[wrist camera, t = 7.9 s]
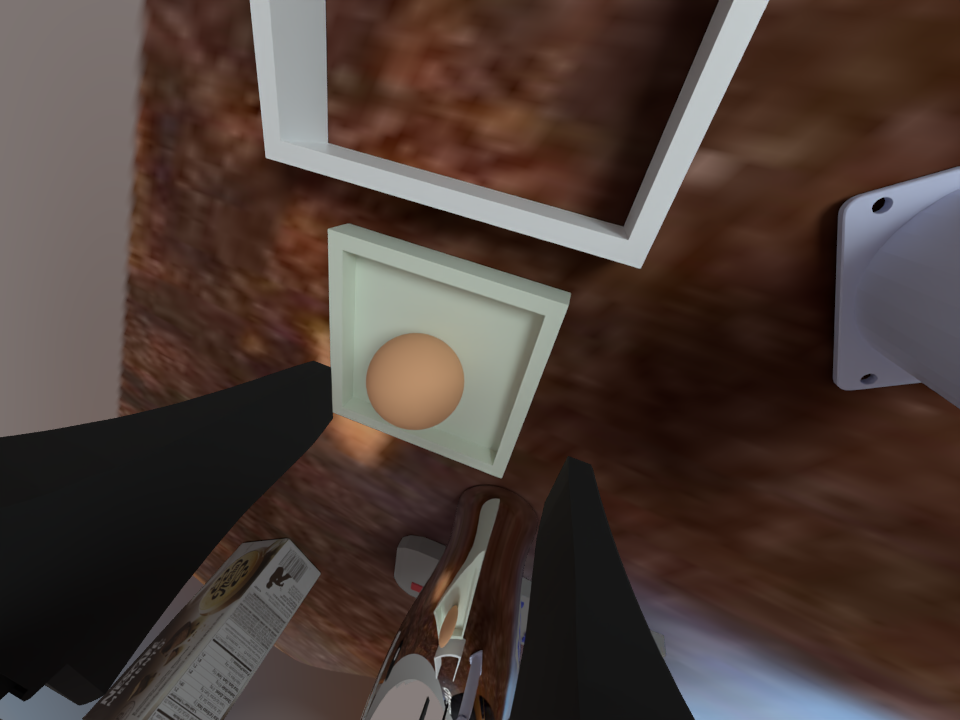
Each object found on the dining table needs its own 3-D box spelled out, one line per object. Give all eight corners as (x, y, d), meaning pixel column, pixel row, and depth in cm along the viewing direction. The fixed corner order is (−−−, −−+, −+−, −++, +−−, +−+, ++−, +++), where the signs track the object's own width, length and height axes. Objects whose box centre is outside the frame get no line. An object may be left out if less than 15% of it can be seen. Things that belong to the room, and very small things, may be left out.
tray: (348, 223, 18) (327, 228, 17) (571, 293, 17) (568, 305, 16) (346, 397, 25) (331, 411, 24) (507, 459, 23) (501, 478, 22)
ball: (454, 307, 19) (416, 352, 14) (487, 385, 20) (463, 445, 16) (378, 329, 20) (326, 375, 16) (416, 399, 22) (377, 456, 18)
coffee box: (276, 574, 44) (136, 756, 31) (242, 540, 42) (76, 719, 29) (324, 574, 40) (186, 782, 27) (288, 536, 38) (120, 742, 25)
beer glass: (435, 495, 27) (299, 777, 15) (503, 467, 24) (399, 807, 11) (491, 551, 29) (410, 850, 16) (563, 533, 25) (529, 897, 13)
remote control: (622, 663, 33) (624, 693, 31) (399, 569, 36) (388, 591, 34) (663, 627, 28) (667, 660, 27) (405, 524, 31) (393, 547, 30)
